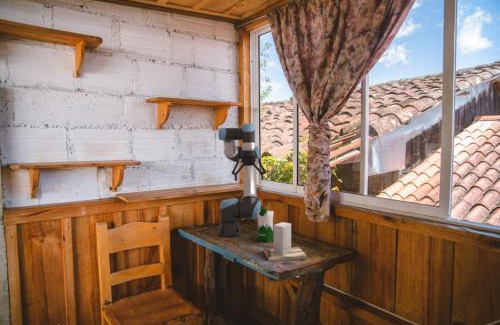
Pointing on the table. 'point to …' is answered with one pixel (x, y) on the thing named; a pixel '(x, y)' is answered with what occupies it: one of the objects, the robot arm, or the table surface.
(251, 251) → the table surface
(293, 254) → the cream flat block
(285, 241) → the skincare box
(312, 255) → the table surface
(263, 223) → the milk carton
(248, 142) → the robot arm
